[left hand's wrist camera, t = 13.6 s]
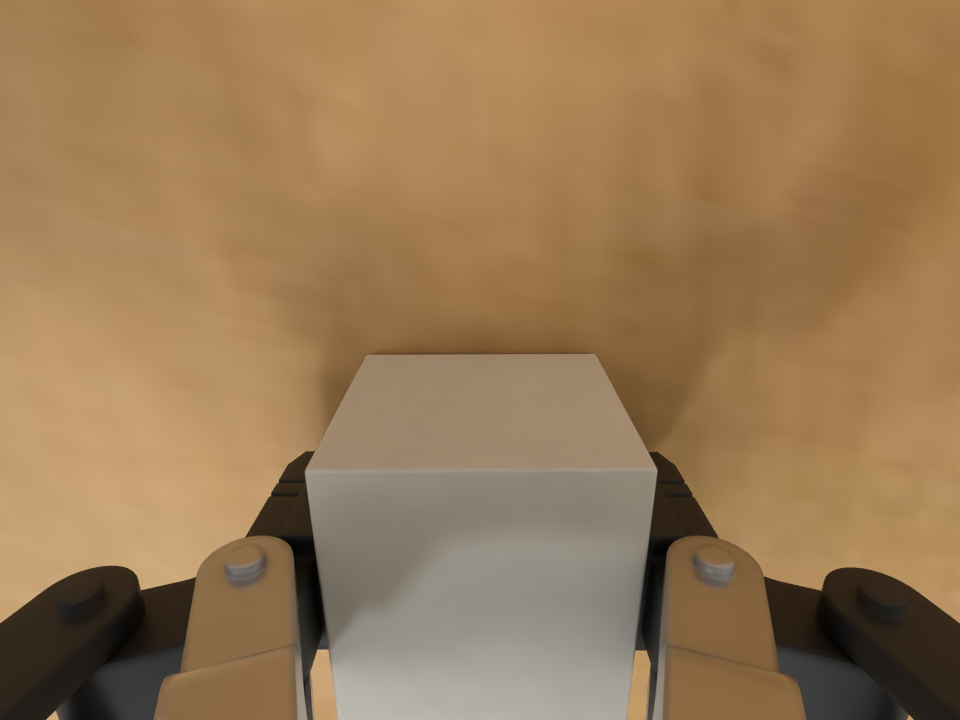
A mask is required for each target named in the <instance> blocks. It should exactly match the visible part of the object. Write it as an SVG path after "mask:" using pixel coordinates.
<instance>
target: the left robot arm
mask: <svg viewBox="0 0 960 720" xmlns="http://www.w3.org/2000/svg"><path fill="white" fill-rule="evenodd" d="M314 453H315V451H306V452H305V453H303V454H302V455H301V456H299V457H298V458H297V459H295V460H294V461H293V462H291V463H290V464H289V465H288V466H287V467H286V469H285V471H284V473H283V474H282V476H281V478H280V479H279V483H277V484H276V486H275V488H274V489H273V491H272V493H271V497H269V498H268V500H267V501H266V503H265V505H264V506H263V508H262V510H261V512H260V513H259V515H258V517H257V518H256V520H255V522H254V523H253V525H252V527H251V529H250V530H249V532H248V534H247V535H246V537H245V538H242V539H239V540H236V541H233V542H230V543H228V544H226V545H224V546H222V547H221V548H219V549H217V550H216V551H214V552H213V553H212V554H211V555H209V556H208V557H207V558H206V559H205V560H204V562H203V563H202V564H201V566H200V568H199V570H198V573H197V576H196V577H195V578H192V579H188V580H185V581H181V582H176V583H172V584H167V585H163V586H158V587H154V588H149V589H145V590H141V589H140V585H139V581H138V578H137V576H136V574H135V573H134V572H133V571H131V570H130V569H128V568H125V567H120V566H102V567H96V568H91V569H87V570H84V571H81V572H78V573H75V574H73V575H70V576H68V577H66V578H64V579H62V580H60V581H58V582H57V583H55V584H53V585H52V586H50V587H49V588H47V589H46V590H44V591H43V592H42V593H40V594H39V595H38V596H36V597H35V598H34V599H32V600H31V601H30V602H28V603H27V604H26V605H24V606H23V607H22V608H20V609H19V610H18V611H16V612H15V613H14V614H12V615H11V616H10V617H8V618H7V619H6V620H4V621H3V622H2V623H0V720H46V719H47V718H48V717H49V716H50V715H51V714H52V713H53V712H54V711H55V710H56V712H57V715H58V718H59V720H315V718H314V704H313V691H312V680H311V673H310V670H311V668H312V665H313V661H314V658H315V655H316V652H317V649H328V641H327V634H326V626H325V619H324V611H323V604H322V597H321V589H320V582H319V574H318V567H317V559H316V552H315V545H314V537H313V530H312V522H311V515H310V507H309V500H308V492H307V485H306V478H305V470H306V468H307V466H308V464H309V462H310V460H311V458H312V456H313V454H314ZM648 453H649V455H650V457H651V458H652V460H653V462H654V464H655V466H656V468H657V470H658V471H657V479H656V487H655V495H654V503H653V511H652V519H651V527H650V535H649V543H648V551H647V559H646V567H645V575H644V583H643V591H642V599H641V607H640V615H639V623H638V632H637V640H636V648H635V650H647V653H648V656H649V659H650V662H651V666H650V673H649V680H648V691H647V704H646V718H645V720H907V718H908V716H909V715H910V716H911V717H912V718H913V719H914V720H960V623H958V622H957V621H956V620H954V619H953V618H952V617H950V616H949V615H948V614H946V613H945V612H944V611H942V610H941V609H940V608H938V607H937V606H936V605H934V604H933V603H932V602H930V601H929V600H928V599H926V598H925V597H924V596H922V595H921V594H920V593H918V592H917V591H916V590H914V589H913V588H911V587H910V586H908V585H906V584H904V583H903V582H901V581H899V580H897V579H895V578H893V577H890V576H888V575H885V574H882V573H879V572H876V571H872V570H868V569H863V568H840V569H836V570H833V571H832V572H830V573H829V574H828V575H827V576H826V578H825V580H824V583H823V587H822V591H820V590H815V589H811V588H806V587H802V586H797V585H793V584H789V583H784V582H780V581H776V580H773V579H770V578H767V577H764V576H763V573H762V570H761V568H760V566H759V564H758V563H757V562H756V560H755V559H754V558H753V557H752V556H751V555H749V554H748V553H747V552H746V551H744V550H743V549H741V548H739V547H738V546H736V545H734V544H732V543H730V542H727V541H724V540H721V539H719V538H718V536H717V534H716V533H715V531H714V529H713V528H712V526H711V524H710V523H709V521H708V519H707V518H706V516H705V514H704V513H703V511H702V509H701V508H700V506H699V504H698V503H697V501H696V499H695V498H694V497H692V492H691V491H690V489H689V487H688V486H687V484H685V481H684V479H683V477H682V476H681V474H680V472H679V471H678V469H677V467H676V466H675V465H674V464H673V463H671V462H670V461H669V460H667V459H666V458H665V457H663V456H662V455H661V454H659V453H658V452H648Z"/></svg>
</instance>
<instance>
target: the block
mask: <svg viewBox="0 0 960 720" xmlns="http://www.w3.org/2000/svg"><path fill="white" fill-rule="evenodd" d="M657 471H658V470H657V468H656V466H655V464H654V462H653V460H652V458H651V457H650V455H649V453H648V451H647V449H646V447H645V445H644V444H643V442H642V440H641V438H640V436H639V434H638V432H637V431H636V429H635V427H634V425H633V423H632V421H631V419H630V417H629V416H628V414H627V412H626V410H625V408H624V406H623V404H622V403H621V401H620V399H619V397H618V395H617V393H616V391H615V390H614V388H613V386H612V384H611V382H610V380H609V378H608V377H607V375H606V373H605V371H604V369H603V367H602V365H601V364H600V362H599V360H598V358H597V356H596V355H595V354H435V355H366V356H365V358H364V360H363V362H362V364H361V366H360V368H359V370H358V372H357V373H356V375H355V377H354V379H353V381H352V383H351V385H350V387H349V389H348V390H347V392H346V394H345V396H344V398H343V400H342V402H341V404H340V405H339V407H338V409H337V411H336V413H335V415H334V417H333V419H332V421H331V422H330V424H329V426H328V428H327V430H326V432H325V434H324V436H323V438H322V439H321V441H320V443H319V445H318V447H317V449H316V451H315V453H314V454H313V456H312V458H311V460H310V462H309V464H308V466H307V468H306V470H305V478H306V485H307V492H308V500H309V507H310V515H311V522H312V530H313V537H314V545H315V552H316V559H317V567H318V574H319V582H320V589H321V597H322V604H323V611H324V619H325V626H326V634H327V641H328V649H329V656H330V664H331V671H332V678H333V686H334V693H335V701H336V708H337V716H338V720H627V712H628V704H629V696H630V688H631V680H632V672H633V664H634V656H635V648H636V640H637V632H638V623H639V615H640V607H641V599H642V591H643V583H644V575H645V567H646V559H647V551H648V543H649V535H650V527H651V519H652V511H653V503H654V495H655V487H656V479H657Z"/></svg>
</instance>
